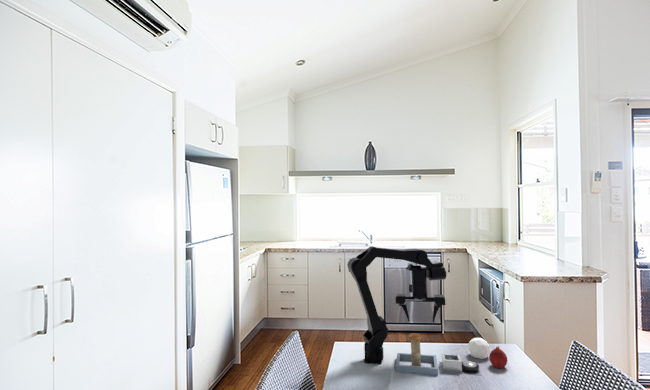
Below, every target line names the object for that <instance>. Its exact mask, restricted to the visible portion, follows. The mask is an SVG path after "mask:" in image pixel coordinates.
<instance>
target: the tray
mask: <svg viewBox="0 0 650 390" xmlns="http://www.w3.org/2000/svg"><path fill="white" fill-rule="evenodd" d="M437 360H438V359H437V355H435V354H421V362H429V363H433V367H431V366H422V365H421V366H412V365H404V364H401V361H412V358H411V353H406V352H405V353H404V352H397V353H396V361H395V372H396V373H407V374H417V375H418V374H419V375H432V376H439V367H438V361H437Z"/></svg>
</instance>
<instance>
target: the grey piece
mask: <svg viewBox="0 0 650 390" xmlns="http://www.w3.org/2000/svg"><path fill="white" fill-rule="evenodd" d="M438 364H439V369H440V373H445V374H459V375H470V376H472V375H473V376H482V373H481V370H480V364H478V363H477V362H474V361H470V360H465V361H462V359H461V356H460V354H451V353H441V361H439V363H438Z"/></svg>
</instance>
